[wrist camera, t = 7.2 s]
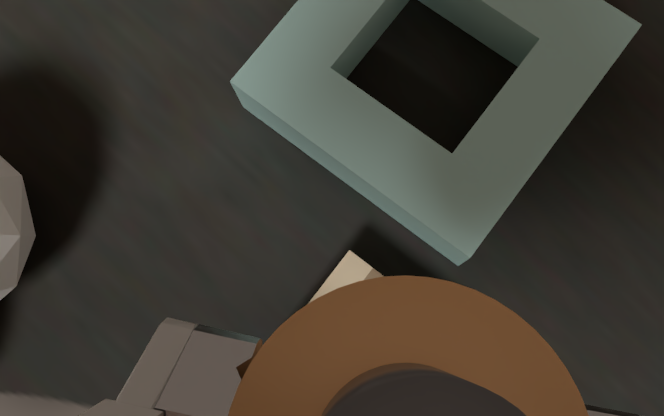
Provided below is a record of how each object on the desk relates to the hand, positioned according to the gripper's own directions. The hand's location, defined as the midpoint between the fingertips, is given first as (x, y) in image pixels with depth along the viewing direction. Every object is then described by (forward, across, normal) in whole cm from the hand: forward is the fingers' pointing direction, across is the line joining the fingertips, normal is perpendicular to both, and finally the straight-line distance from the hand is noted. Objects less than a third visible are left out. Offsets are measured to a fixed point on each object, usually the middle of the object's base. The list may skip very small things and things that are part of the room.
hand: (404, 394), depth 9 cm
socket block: (+21, 0, +3) cm, 21 cm away
